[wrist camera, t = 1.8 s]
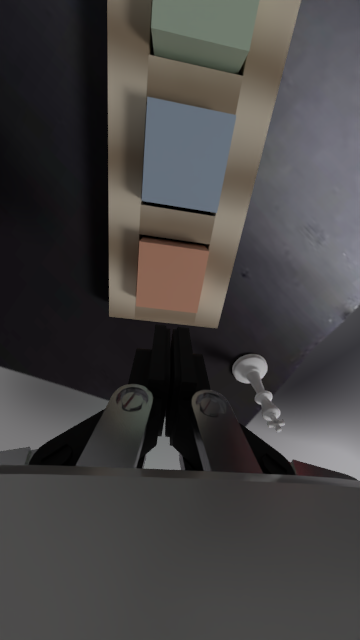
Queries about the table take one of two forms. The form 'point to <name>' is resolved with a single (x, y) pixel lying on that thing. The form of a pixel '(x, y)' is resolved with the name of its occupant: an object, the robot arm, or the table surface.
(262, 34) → the button panel
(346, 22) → the table surface
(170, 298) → the terracotta button
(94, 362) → the table surface
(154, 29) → the sage button
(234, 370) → the chess piece
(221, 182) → the slate button
